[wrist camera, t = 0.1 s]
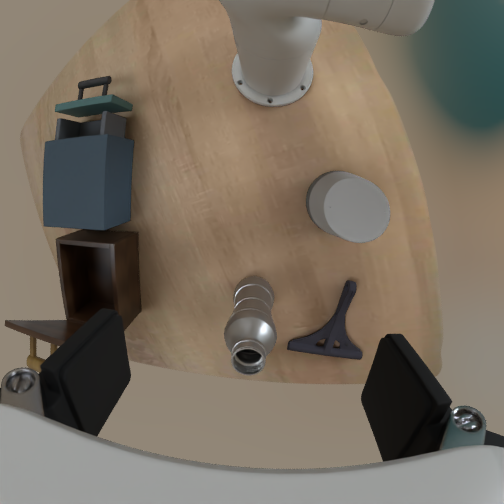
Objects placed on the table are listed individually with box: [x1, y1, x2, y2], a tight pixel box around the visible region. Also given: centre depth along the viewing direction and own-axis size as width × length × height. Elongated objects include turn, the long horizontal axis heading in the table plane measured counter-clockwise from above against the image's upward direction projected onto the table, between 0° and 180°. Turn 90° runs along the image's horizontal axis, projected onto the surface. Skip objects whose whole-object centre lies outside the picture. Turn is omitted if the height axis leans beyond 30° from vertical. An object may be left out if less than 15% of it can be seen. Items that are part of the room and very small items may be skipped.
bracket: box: [287, 280, 362, 360], centre depth 47 cm, size 14×15×3 cm
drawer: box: [55, 76, 133, 140], centre depth 38 cm, size 17×11×7 cm
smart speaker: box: [306, 171, 390, 243], centre depth 37 cm, size 10×9×14 cm
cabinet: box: [43, 134, 134, 230], centre depth 40 cm, size 14×13×9 cm
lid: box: [5, 320, 83, 373], centre depth 33 cm, size 15×12×6 cm
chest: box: [56, 229, 141, 331], centre depth 44 cm, size 15×12×9 cm
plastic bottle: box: [224, 276, 277, 375], centre depth 38 cm, size 6×7×20 cm
